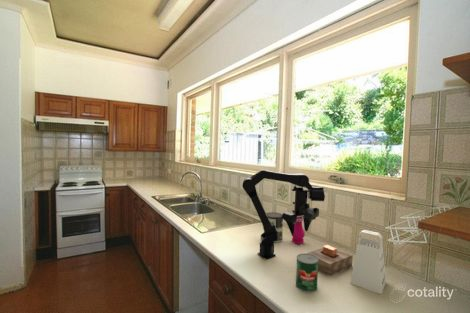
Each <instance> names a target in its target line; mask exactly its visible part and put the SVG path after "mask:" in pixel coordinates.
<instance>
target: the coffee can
mask: <svg viewBox="0 0 470 313" xmlns="http://www.w3.org/2000/svg"><path fill="white" fill-rule="evenodd" d="M266 214H267V217H268V219H269V221H270V222H271V223H272V222H273V221H274V224H275V227H276V228H277V230H278V233H277V235H278V238H277V240H276V241H275V242H274V243H281V242H282V241H283V240H284V239H283V238H284V235H283V233H284V232H283V230H284V219H282V214H283V213H281V212H273V211H272V212H266Z"/></svg>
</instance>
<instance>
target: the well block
mask: <svg viewBox="0 0 470 313" xmlns="http://www.w3.org/2000/svg"><path fill="white" fill-rule="evenodd" d="M336 249H337V257H336V258H331V257H329V256H326V255H324V254H323V247H322V248H321V247H320V248H318V249H315V250H313V251H308V252H306V254H311V255H314V256H316V257H317V258H318V272H321V273H323V274H325V275H327V276H329V277H331V276H333V275H335V274H337V273H340V272H342V271H345V270H346V269H348V268H351V267H353V261H354V260H353V258H354V257H353V256H354V255H353V254H351V253H349V252H346V251H343V250H341V249H339V248H336Z"/></svg>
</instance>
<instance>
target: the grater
mask: <svg viewBox="0 0 470 313" xmlns="http://www.w3.org/2000/svg"><path fill="white" fill-rule="evenodd" d="M362 233H366V234H369V235H373V236H378V237H379V241H376V240H371V239H366V238H361V237H362ZM356 244H357V245H356V250H355V255H354V260H353V265H352V272H351V278H350V284H351V285H354V286H356V287H360V288H362V289H366V290H369V291H371V292H374V293H377V294H381V295H382V294H383V290H384V288H385V286H386V282H387V277H386V268H385V265H386V264H385V256H384V255H385V254H384V245H383V236H382V234H381V233H380V232H376V231H371V230H367V229H363V230H361V231H360V232H359V234H358V242H357V243H356ZM366 244H367V245H366Z"/></svg>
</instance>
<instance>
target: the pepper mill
mask: <svg viewBox="0 0 470 313" xmlns="http://www.w3.org/2000/svg"><path fill="white" fill-rule="evenodd" d="M292 213H293V212H292ZM293 214H294V213H293ZM296 221H297V222H296V223H295V227H294V234H291V233H290V234H291V237H292V238H291V242H292V243H294V244H298V245H299V244H300V245H302V244H304V243H305V242H304V241H305V239H304V238H305V237H306V235H305V234H306V233H305V232H306V231H305V229H304V226H303V222H304V221H303V217H297V220H296Z"/></svg>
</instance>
